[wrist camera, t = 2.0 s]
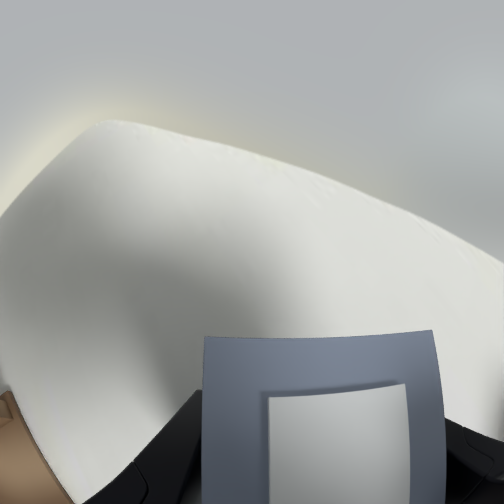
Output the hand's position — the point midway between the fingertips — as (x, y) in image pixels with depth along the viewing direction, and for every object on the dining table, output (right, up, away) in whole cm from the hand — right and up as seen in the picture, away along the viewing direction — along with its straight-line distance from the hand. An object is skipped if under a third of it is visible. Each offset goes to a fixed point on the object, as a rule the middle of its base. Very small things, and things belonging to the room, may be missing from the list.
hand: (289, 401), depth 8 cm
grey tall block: (-1, -5, +5) cm, 7 cm away
